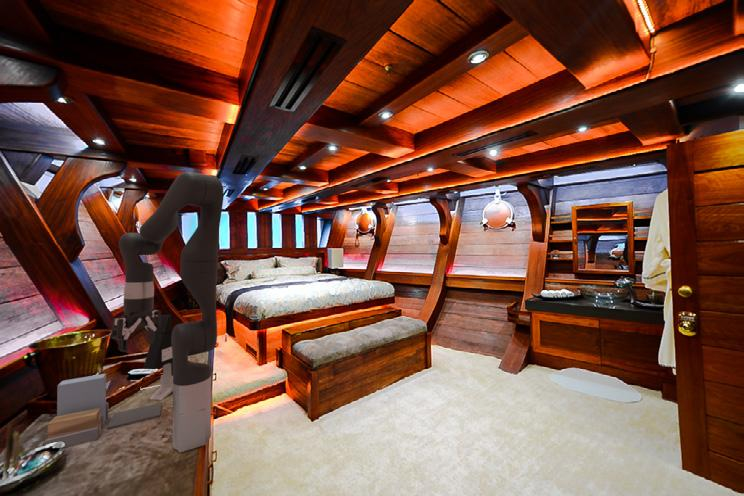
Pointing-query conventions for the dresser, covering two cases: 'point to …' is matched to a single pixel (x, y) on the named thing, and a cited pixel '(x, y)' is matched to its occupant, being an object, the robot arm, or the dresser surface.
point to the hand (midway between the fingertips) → (137, 346)
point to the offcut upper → (74, 422)
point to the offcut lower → (79, 430)
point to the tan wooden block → (79, 435)
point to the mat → (135, 415)
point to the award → (162, 357)
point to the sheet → (82, 395)
